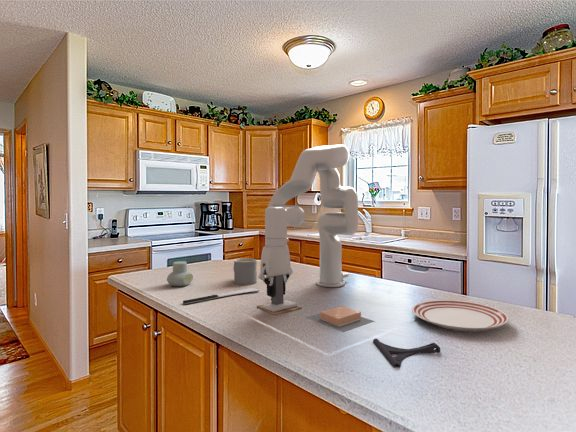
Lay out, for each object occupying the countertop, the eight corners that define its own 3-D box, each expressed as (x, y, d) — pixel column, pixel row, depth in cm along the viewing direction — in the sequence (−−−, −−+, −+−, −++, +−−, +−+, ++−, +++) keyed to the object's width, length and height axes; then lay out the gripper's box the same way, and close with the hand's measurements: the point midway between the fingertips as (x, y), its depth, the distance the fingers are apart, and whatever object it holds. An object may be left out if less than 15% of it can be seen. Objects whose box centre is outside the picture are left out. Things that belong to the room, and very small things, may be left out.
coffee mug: (260, 283, 164) (260, 260, 164) (239, 286, 159) (239, 263, 159) (247, 277, 176) (247, 256, 175) (228, 279, 171) (227, 258, 170)
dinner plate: (409, 331, 108) (409, 319, 108) (413, 304, 134) (413, 295, 134) (517, 344, 98) (518, 332, 98) (500, 313, 124) (500, 303, 124)
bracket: (454, 367, 87) (454, 355, 87) (393, 370, 85) (393, 358, 85) (425, 342, 101) (425, 332, 101) (372, 345, 100) (372, 335, 99)
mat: (336, 310, 126) (336, 308, 126) (374, 323, 114) (374, 321, 114) (306, 319, 118) (306, 317, 118) (343, 333, 105) (343, 331, 105)
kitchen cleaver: (248, 285, 158) (261, 287, 150) (248, 289, 158) (261, 292, 150) (176, 298, 139) (186, 301, 131) (176, 303, 139) (186, 306, 131)
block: (342, 305, 122) (360, 312, 116) (341, 312, 122) (360, 319, 116) (319, 312, 116) (338, 318, 109) (319, 319, 116) (338, 326, 109)
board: (281, 302, 135) (281, 300, 135) (301, 310, 126) (301, 307, 126) (256, 308, 128) (256, 305, 128) (275, 317, 120) (275, 314, 120)
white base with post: (263, 308, 126) (262, 275, 125) (286, 302, 132) (285, 271, 132) (273, 311, 121) (272, 278, 121) (297, 305, 127) (296, 274, 127)
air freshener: (180, 289, 155) (180, 265, 154) (164, 287, 158) (163, 264, 157) (195, 283, 165) (195, 260, 164) (180, 281, 168) (179, 259, 167)
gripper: (288, 239, 135) (288, 289, 136) (249, 243, 125) (249, 297, 126) (301, 241, 129) (301, 293, 130) (262, 246, 119) (262, 302, 120)
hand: (276, 294), depth 128 cm, fingers open, 4 cm apart
